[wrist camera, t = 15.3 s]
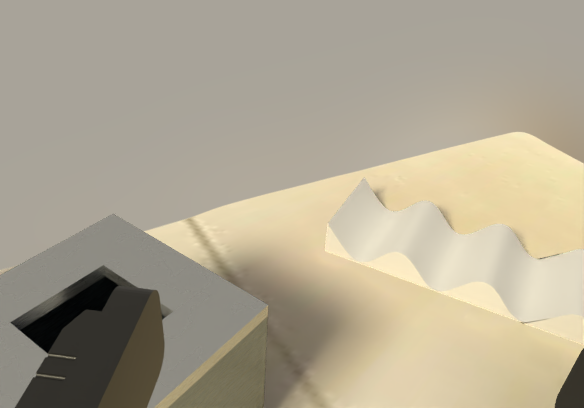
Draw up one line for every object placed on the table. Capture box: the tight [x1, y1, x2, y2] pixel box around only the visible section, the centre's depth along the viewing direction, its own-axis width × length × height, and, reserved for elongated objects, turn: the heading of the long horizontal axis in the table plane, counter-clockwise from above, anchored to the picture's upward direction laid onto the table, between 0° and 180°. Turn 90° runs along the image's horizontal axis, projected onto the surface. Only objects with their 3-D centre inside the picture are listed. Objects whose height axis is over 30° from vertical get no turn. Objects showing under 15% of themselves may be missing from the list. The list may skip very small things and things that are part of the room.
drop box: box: [0, 214, 268, 408], centre depth 44 cm, size 18×18×16 cm
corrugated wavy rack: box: [324, 177, 584, 345], centre depth 70 cm, size 13×35×5 cm, turn 63°
